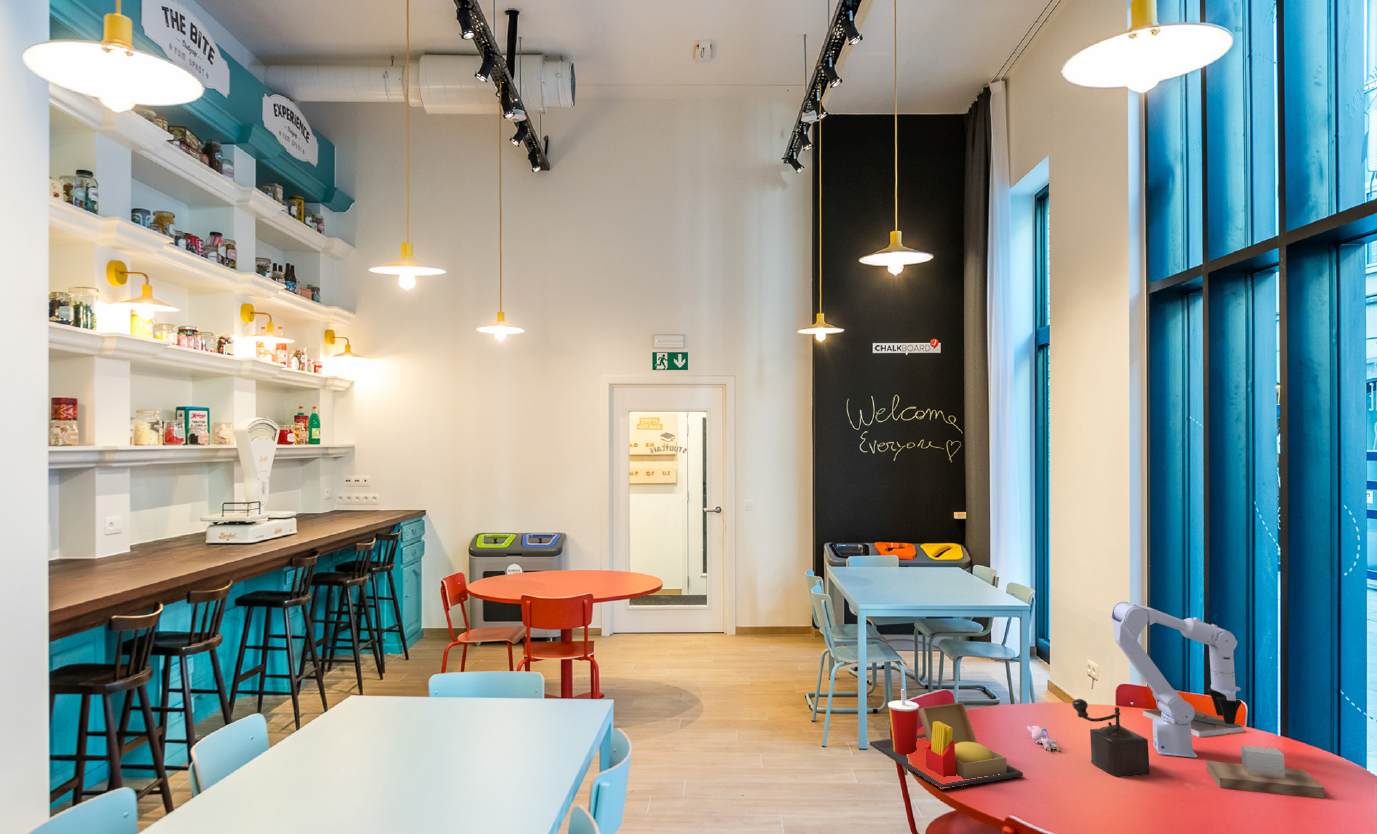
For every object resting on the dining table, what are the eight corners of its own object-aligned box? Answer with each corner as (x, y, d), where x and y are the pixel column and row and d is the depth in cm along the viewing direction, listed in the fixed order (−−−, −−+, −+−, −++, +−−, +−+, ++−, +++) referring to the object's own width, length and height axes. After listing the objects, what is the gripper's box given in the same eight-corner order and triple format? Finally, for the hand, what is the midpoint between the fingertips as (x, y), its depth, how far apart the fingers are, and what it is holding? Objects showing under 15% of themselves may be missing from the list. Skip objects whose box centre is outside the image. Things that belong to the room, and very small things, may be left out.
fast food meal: (941, 793, 201) (938, 719, 202) (869, 748, 234) (867, 685, 235) (1023, 779, 209) (1019, 708, 210) (942, 737, 242) (940, 676, 243)
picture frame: (1243, 734, 241) (1184, 713, 262) (1243, 725, 241) (1184, 705, 262) (1199, 739, 237) (1143, 717, 258) (1198, 730, 237) (1142, 709, 258)
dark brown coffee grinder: (1123, 759, 221) (1119, 694, 222) (1151, 774, 210) (1147, 705, 211) (1072, 763, 218) (1068, 697, 220) (1097, 778, 207) (1094, 709, 209)
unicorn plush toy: (1064, 757, 227) (1039, 731, 242) (1065, 737, 226) (1040, 712, 241) (1043, 757, 227) (1019, 732, 242) (1044, 738, 226) (1020, 713, 241)
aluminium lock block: (1248, 775, 202) (1246, 751, 202) (1242, 768, 206) (1240, 745, 206) (1285, 778, 199) (1283, 754, 199) (1278, 772, 203) (1277, 748, 203)
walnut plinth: (1220, 787, 200) (1219, 777, 200) (1206, 770, 212) (1206, 760, 212) (1324, 798, 193) (1323, 787, 193) (1305, 779, 204) (1304, 769, 204)
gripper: (1247, 678, 217) (1250, 728, 216) (1230, 665, 231) (1233, 713, 230) (1217, 676, 219) (1220, 726, 218) (1202, 664, 233) (1205, 710, 232)
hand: (1225, 719), depth 224 cm, fingers open, 7 cm apart
